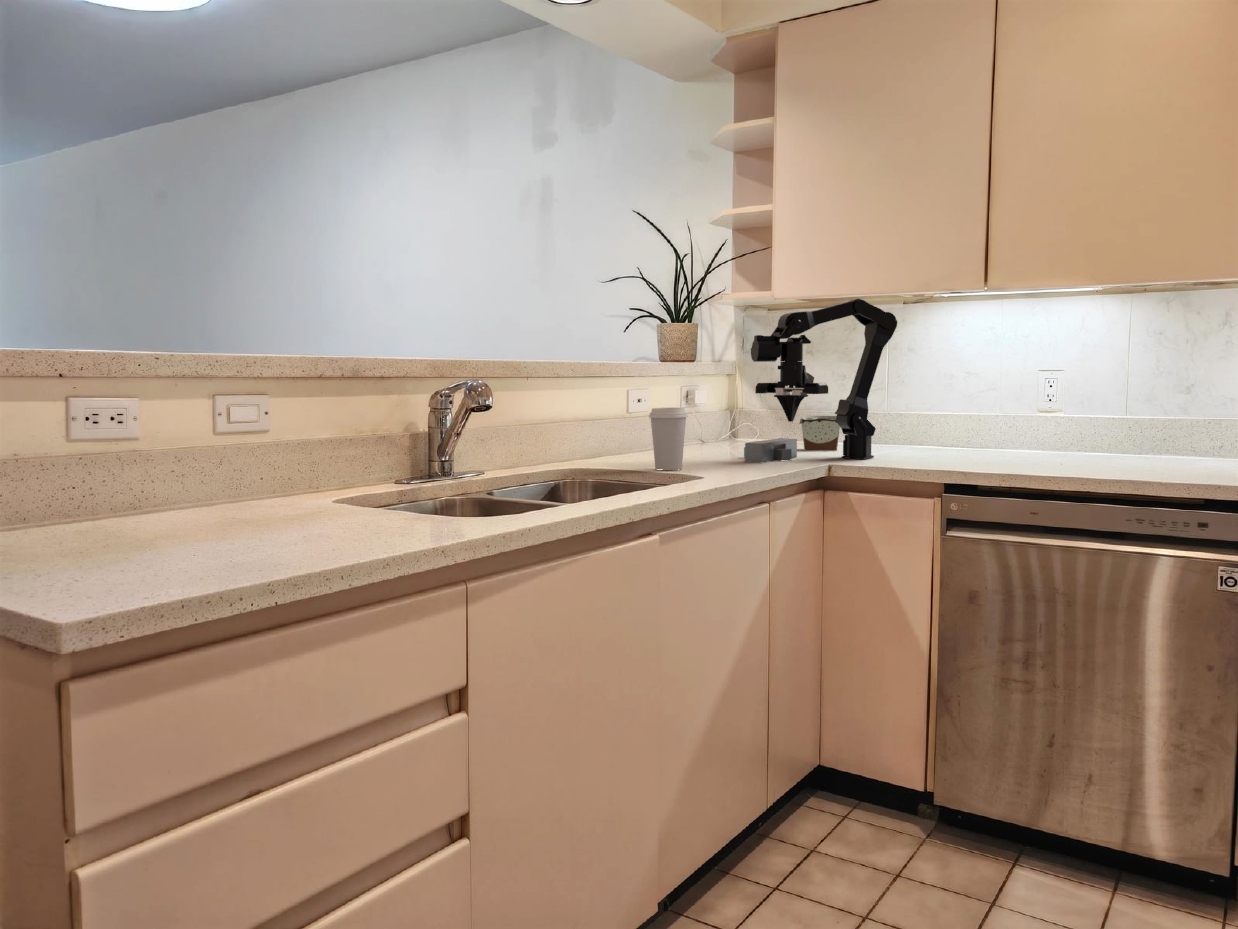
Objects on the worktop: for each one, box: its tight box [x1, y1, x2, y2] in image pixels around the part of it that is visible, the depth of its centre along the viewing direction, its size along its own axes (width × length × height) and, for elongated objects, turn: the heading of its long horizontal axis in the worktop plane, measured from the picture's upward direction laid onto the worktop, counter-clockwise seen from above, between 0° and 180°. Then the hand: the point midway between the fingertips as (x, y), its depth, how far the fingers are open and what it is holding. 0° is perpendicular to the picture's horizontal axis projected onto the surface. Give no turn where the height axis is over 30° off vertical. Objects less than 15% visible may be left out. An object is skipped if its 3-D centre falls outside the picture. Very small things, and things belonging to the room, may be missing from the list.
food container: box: [798, 415, 841, 452], centre depth 266 cm, size 12×6×10 cm, turn 84°
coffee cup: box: [648, 407, 689, 471], centre depth 221 cm, size 10×10×15 cm
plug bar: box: [743, 446, 792, 461], centre depth 244 cm, size 13×4×3 cm, turn 41°
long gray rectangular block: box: [744, 437, 798, 463], centre depth 242 cm, size 5×18×5 cm, turn 139°
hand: (790, 421), depth 237 cm, fingers closed
